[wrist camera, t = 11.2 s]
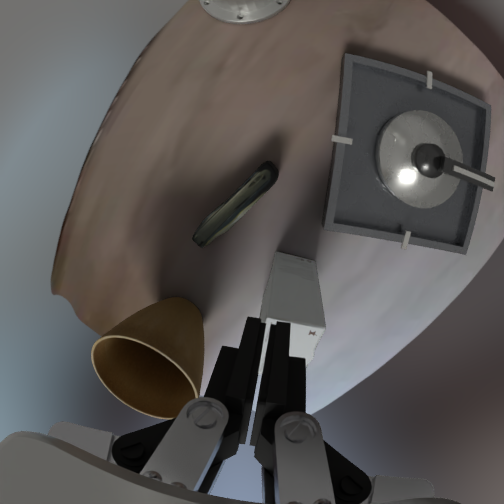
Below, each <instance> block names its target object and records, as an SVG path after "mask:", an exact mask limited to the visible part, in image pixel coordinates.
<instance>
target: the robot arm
mask: <svg viewBox="0 0 504 504" xmlns="http://www.w3.org/2000/svg"><path fill="white" fill-rule="evenodd" d="M199 1H200V3H201V5H202V7H203V8H204V10H205V11H206V12H207V13H208V14H209V15H211V16H212V17H214V18H216V19H217V20H220V21H223V22H226V23H232V24H250V23H256V22H260V21H263V20H266V19H269V18H271V17H273V16H275V15H277V14H278V13H279V12H281V11H282V10H283V9H284V8H285V7H286V6H287V5H288V4H289V2H290V0H199ZM279 4H281V5H279ZM240 18H243V19H240ZM290 328H291V323H288V322H280V321H277V322H276V325H275V324H271V326H270V332H269V338H268V343H267V349H266V355H265V361H264V366H263V372H262V378H261V384H260V390H259V396H258V401H257V407H256V413H255V419H254V424H253V430H252V435H251V440H250V445H252V446H255V451H254V453H255V456H254V457H255V458H256V459H257V460H258V461H259V463H260V464H261V465H262V498H263V503H254V502H248V501H240V500H235V499H229V498H223V497H218V496H213V495H210V493H211V490H212V489H213V487H214V485H215V482H216V480H217V478H218V476H219V474H220V472H221V470H222V467H223V465H224V463H225V460H226V459H227V458H229V457H231V456H233V455H235V454H236V452H237V450H238V446H239V444H245V441H246V436H247V431H248V426H249V420H250V415H251V410H252V405H253V400H254V394H255V389H256V383H257V378H258V372H259V366H260V360H261V354H262V348H263V341H264V335H265V329H266V323H262V322H261V319H260V318H253V317H247V320H246V324H245V328H244V331H243V335H242V339H241V342H240V346H239V348H233V347H227V346H222V348H221V350H220V353H219V356H218V358H217V361H216V364H215V367H214V370H213V373H212V375H211V378H210V381H209V384H208V387H207V389H206V392H205V395H204V397H199V398H196V399H193V400H191V401H189V402H187V404H186V405H185V406H184V407H183V408H182V410H181V412H180V413H179V415H178V416H177V417H175V418H173V419H170V420H167V421H165V422H162V423H159V424H156V425H153V426H150V427H147V428H144V429H141V430H138V431H135V432H132V433H128V434H125V435H123V436H121V437H120V436H115V435H113V433H111V432H106V431H101V430H96V429H92V428H88V427H84V426H80V425H76V424H73V423H69V422H58V423H56V424H54V425H53V426H52V427H51V429H50V430H49V433H48V435H45V434H42V433H36V432H28V431H27V432H26V431H21V432H15V433H13V434H10V435H9V436H7V437H6V438H5V439H4V440H3V441H2V442H1V443H0V504H461V503H459V502H457V501H454V500H450V499H445V498H434V488H433V486H432V484H431V483H430V482H429V481H427V480H425V479H418V478H401V477H389V476H380V475H376V476H375V477H371V476H367V475H366V474H365V473H364V472H363V471H362V470H360V469H359V468H358V467H356V466H355V465H354V464H353V463H351V462H350V461H349V460H347V459H346V458H345V457H344V456H342V455H341V454H340V453H339V452H337V451H336V450H335V449H334V448H333V447H331V446H330V445H329V444H328V443H326V442H325V441H324V440H323V436H322V431H321V427H320V424H319V422H318V421H317V420H316V419H315V418H314V417H313V416H311V415H310V414H307V413H306V359H305V358H301V357H292V356H289V348H290Z"/></svg>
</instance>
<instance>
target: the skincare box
mask: <svg viewBox="0 0 504 504" xmlns="http://www.w3.org/2000/svg"><path fill="white" fill-rule="evenodd" d="M259 318H260V319H261V322H262V323H266V329H265V335H264V341H263V348H262V354H261V360H260V366H259V372H258V374H262V372H263V366H264V361H265V355H266V349H267V343H268V338H269V332H270V326H271V324H275V325H276V322H277V321H280V322H288V323H291V328H290V348H289V356H292V357H301V358H305V359H306V368H307V366H308V364H309V363H310V362H311V361H312V359H313V357H314V351H315V349H316V347H317V345H318V342H319V340H320V338H321V337H322V335H323V333H324V331H325V330H326V324H325V317H324V311H323V304H322V298H321V292H320V285H319V279H318V273H317V268H316V262H315V261H313V260H309V259H305V258H301V257H297V256H293V255H289V254H285V253H281V252H275V255H274V261H273V265H272V269H271V274H270V277H269V281H268V284H267V287H266V291H265V293H264V296H263V300H262V305H261V312H260V317H259Z"/></svg>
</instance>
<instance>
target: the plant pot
mask: <svg viewBox="0 0 504 504" xmlns="http://www.w3.org/2000/svg"><path fill="white" fill-rule="evenodd" d="M91 358H92V363H93V366H94V369H95V371H96V373H97V375H98V377H99V378H100V380H101V381H102V383H103V384H104V385H105V387H106V388H107V389H108V390H109V391H110V392H111V393H112V394H113V395H114V396H115V397H116V398H118V399H119V400H120V401H121V402H123V403H124V404H126V405H127V406H129V407H131V408H133V409H134V410H137V411H138V412H141V413H143V414H146V415H149V416H152V417H156V418H160V419H173V418H175V417H177V416H178V415H179V413H180V412H181V410H182V408H183V407H184V406H185V405H186V404H187V402H189V401H191V400H193V399H196V398H199V395H200V388H201V382H202V375H203V365H204V329H203V321H202V316H201V313H200V311H199V310H198V308H197V307H196V306H195V305H194V304H193V303H192V302H190V301H189V300H187V299H184V298H181V297H171V298H168V299H165V300H162V301H159V302H157V303H154V304H152V305H150V306H148V307H146V308H144V309H142V310H140V311H138V312H136V313H135V314H133V315H131V316H130V317H128V318H127V319H125V320H124V321H122V322H121V323H119V324H118V325H117V326H115V327H114V328H112V329H111V330H110V331H109V332H107V333H106V334H105V335H103V336H102V337H101V338H100V339H98V340H97V341H96V342H95V344H94V345H93V347H92V352H91Z"/></svg>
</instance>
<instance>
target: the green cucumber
mask: <svg viewBox="0 0 504 504" xmlns="http://www.w3.org/2000/svg"><path fill="white" fill-rule="evenodd" d="M277 179H278V170H277V168H276V167H275V165H274V164H273V163H272V162H271V161H267V162H265V163H263V164H262V165H261V166H260V167H259V168H258V169H257V170H256V171H255V172H254V173H253V174H252V175H251V176H250V177H249V178H248V179H247V180H246V181H245V182H244V183H243V184H242V185H241V186H240V187H239V188H238V189H237V190H236V191H235V193H234V194H233V195H232V196H231V197H230V198H229V199H228V200H226V201H225V202H224V203H222V204H221V205H220V206H219V207H217V208H216V209H215V210H214V211H213V212H212V213H211V214H209V215H208V216H207V217H206V218H205V219H204V221H203V222H202V223H201V224H200V226H199V227H198V229H197V231H196V232H195V234H194V235H193V238H192V240H193V241H194V242H195V243H196V244H197V245H198V246H200V247H201V248H203V247H204V246H207V245H209V244H210V243H211V242H212V241H213V240H214V239H215V238H216V237H217V236H219V235H221V234H223V233H225V232H227V231H228V230H229V229H230V228H231V227H232V226H233V225H234V224H235V223H236V222H237V221H238V220H239V219H240V218H241V217H242V216H243V215H244V214H245V213H246V212H247V211H248V210H249V209H250V208H251V207H252V206H253V205H254V204H255V203H256V202H257V201H258V200H259V199H260V198H261V197H262V196H263V195H264V194H265V193H266V192H267V191H268V190H269V189H270V188H271V187H272V186H273V185H274V184H275V182H276V181H277Z"/></svg>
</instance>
